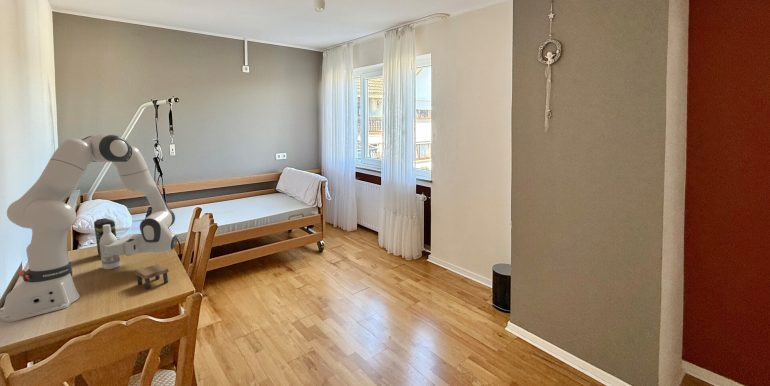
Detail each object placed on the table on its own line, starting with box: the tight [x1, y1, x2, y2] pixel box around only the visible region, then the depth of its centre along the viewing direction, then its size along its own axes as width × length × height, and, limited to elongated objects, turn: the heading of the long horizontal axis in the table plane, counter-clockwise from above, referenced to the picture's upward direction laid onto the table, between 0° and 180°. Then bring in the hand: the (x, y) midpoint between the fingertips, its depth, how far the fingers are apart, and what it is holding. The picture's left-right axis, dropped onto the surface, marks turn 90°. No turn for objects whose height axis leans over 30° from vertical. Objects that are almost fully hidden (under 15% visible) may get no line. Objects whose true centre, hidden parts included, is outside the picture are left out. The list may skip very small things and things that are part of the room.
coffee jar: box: [93, 217, 118, 257], centre depth 192 cm, size 10×8×19 cm
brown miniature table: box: [134, 264, 169, 290], centre depth 160 cm, size 9×9×6 cm
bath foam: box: [99, 224, 122, 270], centre depth 176 cm, size 7×7×20 cm
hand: (106, 244), depth 176 cm, fingers closed on bath foam, 7 cm apart
